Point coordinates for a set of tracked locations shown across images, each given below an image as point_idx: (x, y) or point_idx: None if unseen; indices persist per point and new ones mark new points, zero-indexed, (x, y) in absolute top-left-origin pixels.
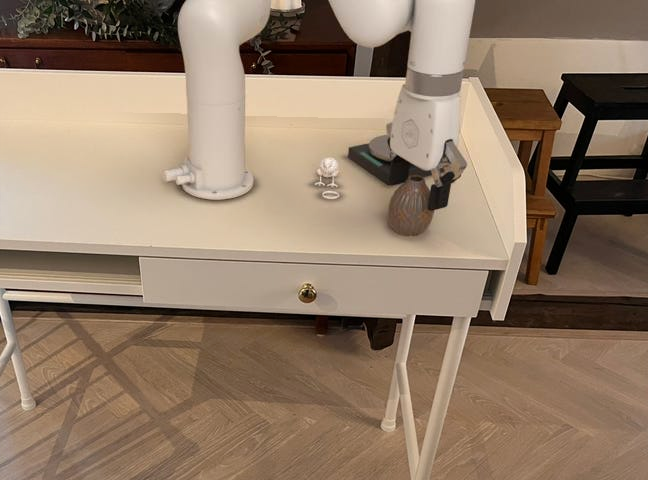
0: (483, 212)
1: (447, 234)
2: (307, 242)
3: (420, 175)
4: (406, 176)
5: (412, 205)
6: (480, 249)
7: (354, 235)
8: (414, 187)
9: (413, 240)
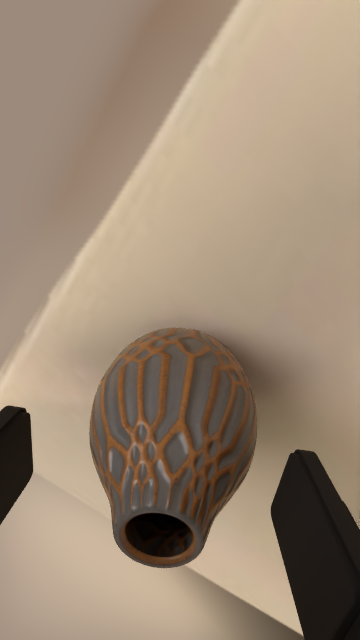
0: None
1: None
2: (341, 3)
3: None
4: (279, 531)
5: (110, 395)
6: None
7: (255, 219)
8: (124, 476)
9: (130, 342)
